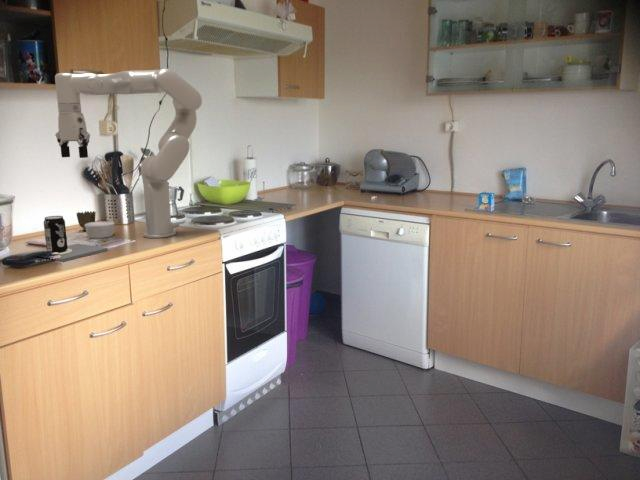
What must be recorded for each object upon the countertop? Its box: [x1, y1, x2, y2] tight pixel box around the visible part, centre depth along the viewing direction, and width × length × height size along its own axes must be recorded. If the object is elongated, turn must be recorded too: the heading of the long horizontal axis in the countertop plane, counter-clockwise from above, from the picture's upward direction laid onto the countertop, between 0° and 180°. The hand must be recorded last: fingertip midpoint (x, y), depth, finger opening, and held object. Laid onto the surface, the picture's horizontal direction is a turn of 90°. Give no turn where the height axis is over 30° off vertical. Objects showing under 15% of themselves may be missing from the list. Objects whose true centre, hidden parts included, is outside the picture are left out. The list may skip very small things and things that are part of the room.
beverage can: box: [43, 215, 69, 253], centre depth 193 cm, size 7×7×12 cm
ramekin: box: [84, 220, 116, 239], centre depth 226 cm, size 11×11×5 cm
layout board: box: [45, 243, 109, 263], centre depth 196 cm, size 18×16×1 cm
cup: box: [76, 210, 97, 233], centre depth 236 cm, size 8×7×8 cm
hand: (74, 157), depth 205 cm, fingers open, 9 cm apart
